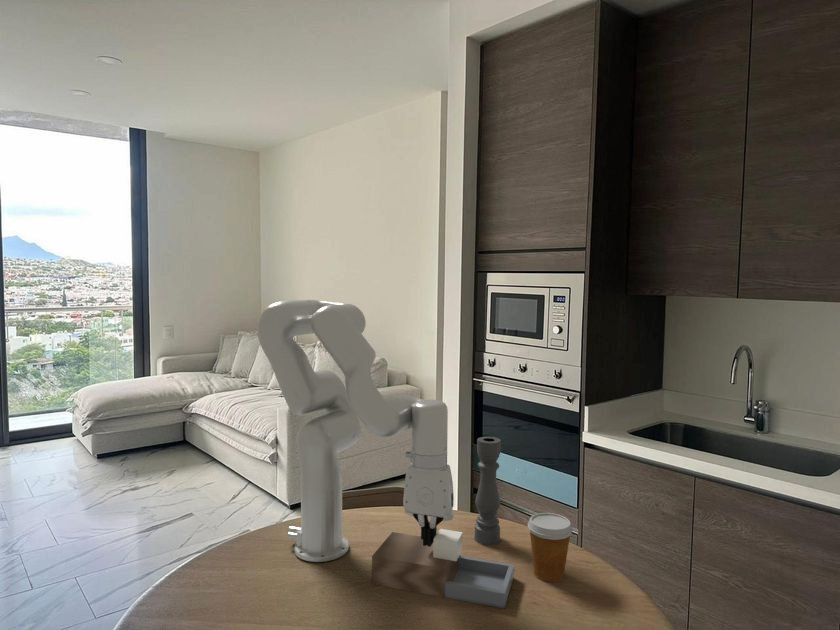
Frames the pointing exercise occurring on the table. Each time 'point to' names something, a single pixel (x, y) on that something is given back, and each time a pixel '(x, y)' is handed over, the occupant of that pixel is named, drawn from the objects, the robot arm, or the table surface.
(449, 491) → the robot arm
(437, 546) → the white block
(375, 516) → the table surface
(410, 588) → the brown wooden box
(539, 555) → the disposable coffee cup
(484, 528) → the candle holder
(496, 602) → the box
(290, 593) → the table surface
